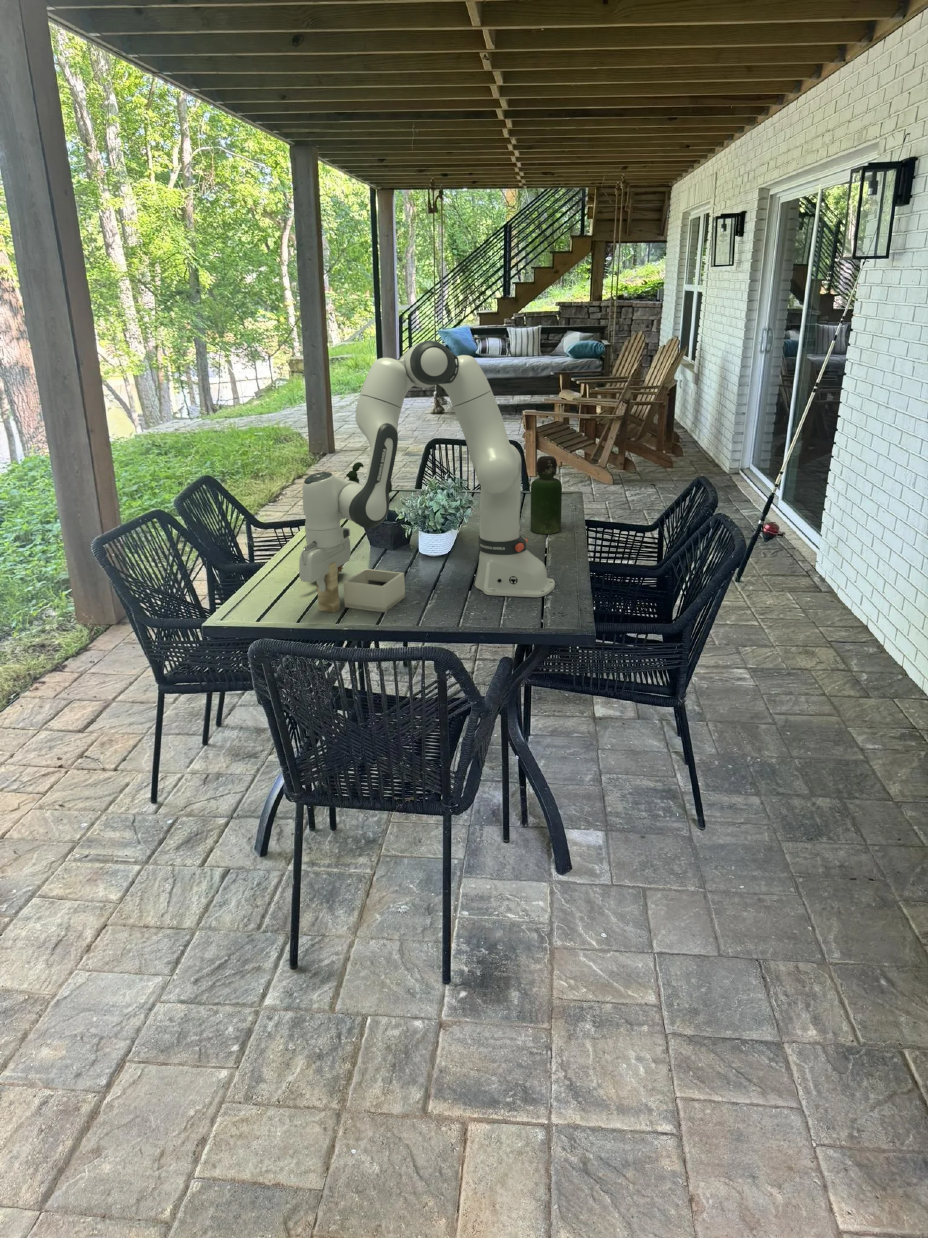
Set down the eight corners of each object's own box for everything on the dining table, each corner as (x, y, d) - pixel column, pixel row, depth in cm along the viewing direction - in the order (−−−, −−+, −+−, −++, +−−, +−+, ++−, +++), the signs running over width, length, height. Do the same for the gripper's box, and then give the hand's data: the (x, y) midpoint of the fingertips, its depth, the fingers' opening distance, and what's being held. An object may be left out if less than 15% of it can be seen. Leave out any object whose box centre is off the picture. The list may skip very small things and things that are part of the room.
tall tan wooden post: (339, 608, 228) (336, 561, 224) (334, 612, 226) (330, 565, 221) (324, 606, 230) (321, 560, 225) (319, 610, 227) (315, 563, 223)
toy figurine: (364, 517, 321) (402, 496, 340) (358, 467, 313) (397, 449, 332) (344, 514, 326) (383, 494, 345) (338, 465, 318) (378, 447, 336)
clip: (390, 596, 233) (389, 581, 232) (380, 603, 228) (380, 588, 227) (369, 593, 236) (368, 579, 234) (359, 600, 231) (358, 586, 229)
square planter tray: (405, 597, 235) (404, 572, 233) (385, 612, 225) (383, 587, 223) (366, 592, 240) (364, 568, 237) (344, 607, 229) (343, 582, 227)
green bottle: (524, 530, 294) (524, 457, 285) (545, 524, 301) (546, 453, 291) (545, 536, 287) (547, 461, 278) (567, 530, 293) (569, 457, 284)
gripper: (312, 549, 210) (317, 602, 216) (353, 527, 228) (356, 577, 233) (290, 547, 213) (295, 599, 218) (332, 525, 230) (336, 574, 235)
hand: (327, 587), depth 226 cm, fingers closed on tall tan wooden post, 3 cm apart
